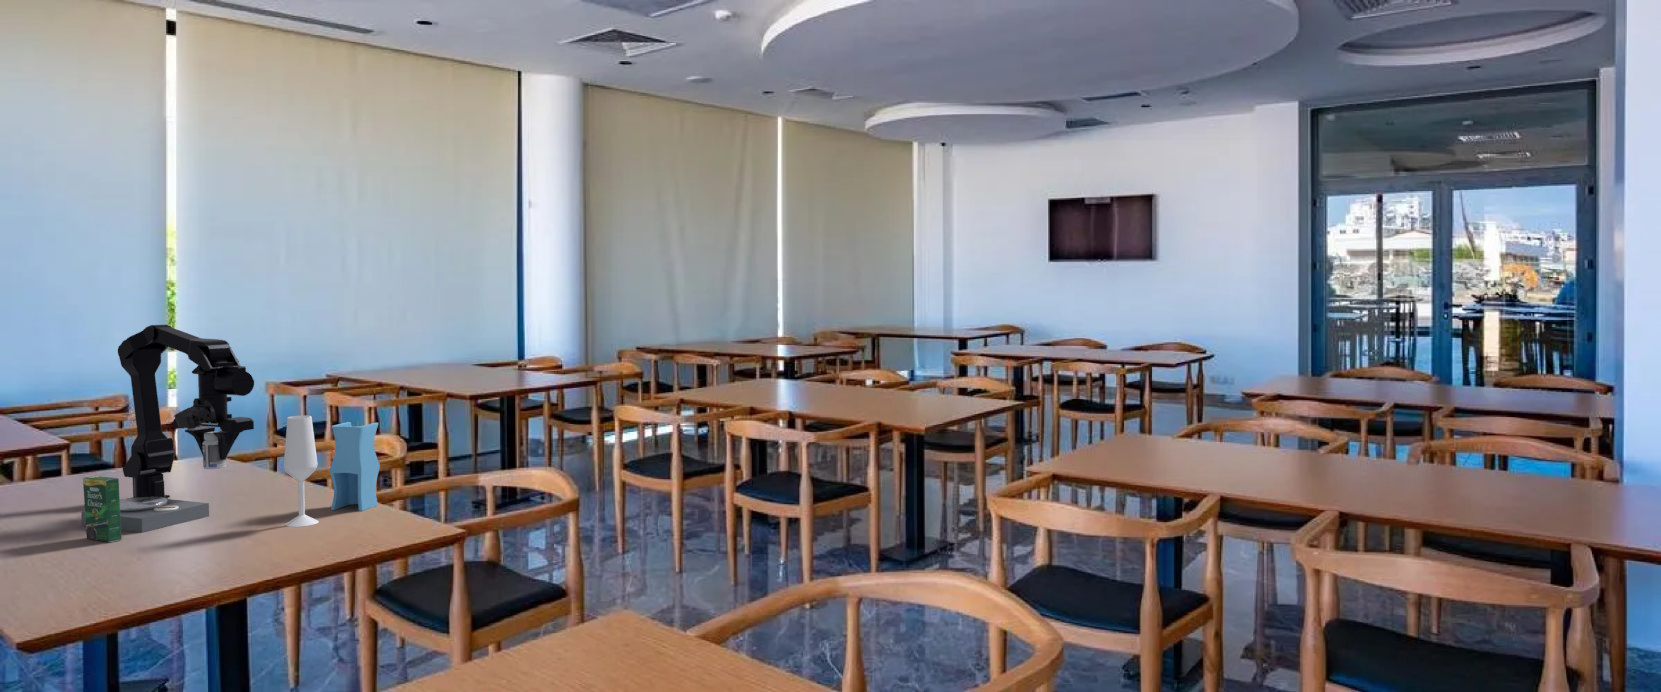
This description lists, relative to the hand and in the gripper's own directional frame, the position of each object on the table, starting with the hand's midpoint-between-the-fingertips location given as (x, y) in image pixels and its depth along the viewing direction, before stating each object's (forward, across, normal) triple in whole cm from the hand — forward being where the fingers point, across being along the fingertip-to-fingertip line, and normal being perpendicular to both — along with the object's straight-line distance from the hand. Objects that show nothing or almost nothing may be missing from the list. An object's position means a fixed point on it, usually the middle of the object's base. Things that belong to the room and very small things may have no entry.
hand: (214, 458), depth 237 cm
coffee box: (+12, +3, -29) cm, 32 cm away
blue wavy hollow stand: (+12, +30, +12) cm, 34 cm away
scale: (+12, -4, -14) cm, 19 cm away
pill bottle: (+2, 0, 0) cm, 2 cm away
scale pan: (+9, -6, -14) cm, 18 cm away
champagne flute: (+12, +30, -5) cm, 33 cm away
